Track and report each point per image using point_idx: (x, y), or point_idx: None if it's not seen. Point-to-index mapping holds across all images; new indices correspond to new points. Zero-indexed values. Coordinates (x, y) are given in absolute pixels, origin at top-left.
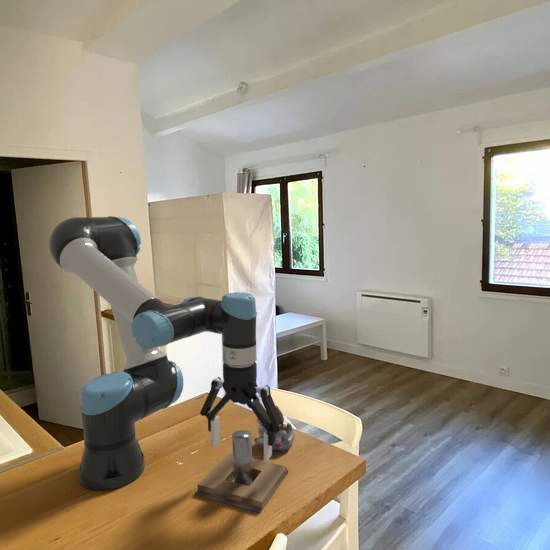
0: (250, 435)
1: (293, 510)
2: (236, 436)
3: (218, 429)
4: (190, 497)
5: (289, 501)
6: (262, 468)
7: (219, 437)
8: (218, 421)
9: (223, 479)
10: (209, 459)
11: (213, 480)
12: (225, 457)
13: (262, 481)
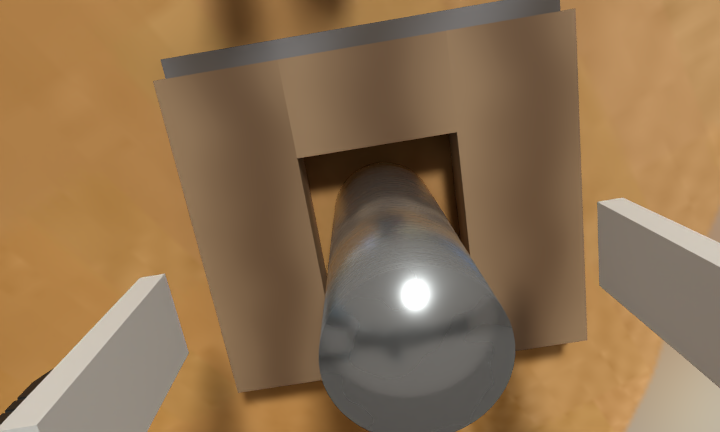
0: (504, 327)
1: None
2: (392, 408)
3: (120, 357)
4: (244, 402)
5: (656, 206)
6: (447, 110)
7: (151, 301)
8: (75, 410)
9: (319, 302)
10: (69, 131)
11: (281, 333)
12: (175, 134)
13: (512, 214)
